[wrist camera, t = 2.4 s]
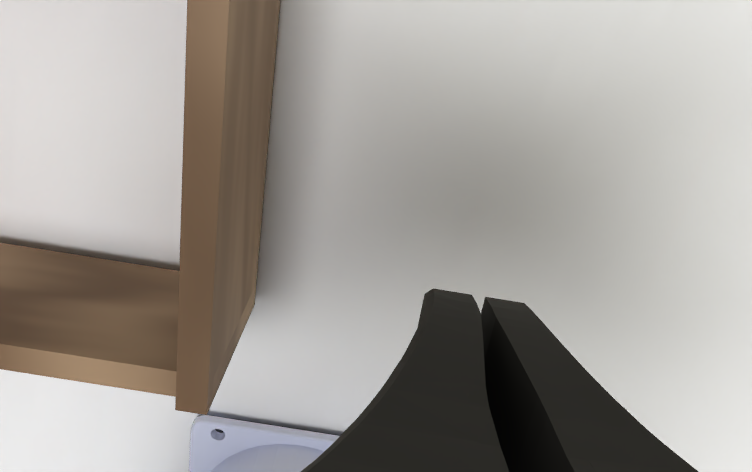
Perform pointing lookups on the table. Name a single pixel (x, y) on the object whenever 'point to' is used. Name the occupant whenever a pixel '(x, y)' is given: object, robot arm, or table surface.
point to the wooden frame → (197, 243)
